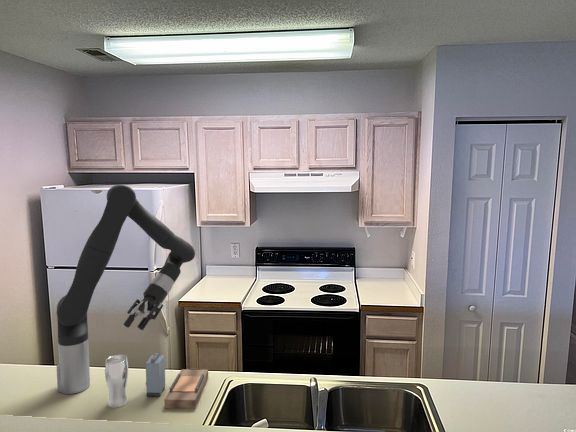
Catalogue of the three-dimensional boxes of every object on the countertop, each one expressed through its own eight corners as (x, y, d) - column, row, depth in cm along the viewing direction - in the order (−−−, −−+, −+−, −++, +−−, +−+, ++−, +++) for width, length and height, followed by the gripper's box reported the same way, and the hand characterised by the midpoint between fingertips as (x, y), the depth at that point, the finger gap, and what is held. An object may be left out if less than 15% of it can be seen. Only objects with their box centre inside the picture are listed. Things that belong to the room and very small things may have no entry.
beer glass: (123, 408, 125) (122, 364, 123) (102, 408, 125) (100, 363, 123) (132, 396, 132) (131, 354, 130) (112, 396, 132) (110, 354, 130)
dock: (164, 408, 125) (164, 395, 125) (181, 377, 145) (181, 366, 145) (195, 408, 125) (195, 396, 125) (208, 377, 145) (208, 366, 145)
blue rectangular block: (146, 397, 132) (145, 359, 130) (152, 387, 138) (152, 351, 137) (159, 397, 132) (158, 360, 130) (165, 387, 138) (164, 351, 137)
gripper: (141, 282, 145) (113, 320, 135) (164, 283, 136) (137, 323, 127) (154, 293, 149) (128, 331, 139) (177, 295, 141) (152, 335, 131)
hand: (132, 327), depth 133 cm, fingers open, 8 cm apart
